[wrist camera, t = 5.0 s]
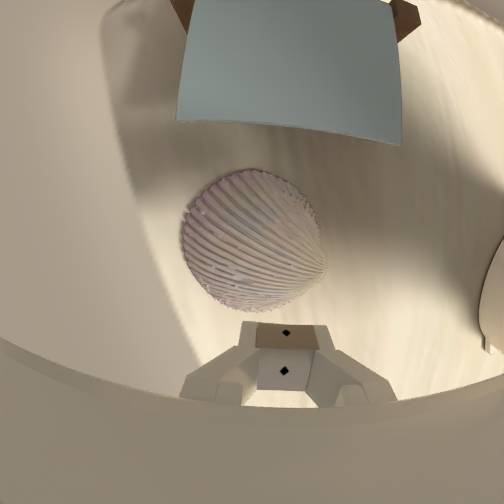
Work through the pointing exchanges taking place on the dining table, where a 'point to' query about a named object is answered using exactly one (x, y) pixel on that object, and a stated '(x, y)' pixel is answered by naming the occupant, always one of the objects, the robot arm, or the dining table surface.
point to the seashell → (254, 242)
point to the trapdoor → (294, 66)
